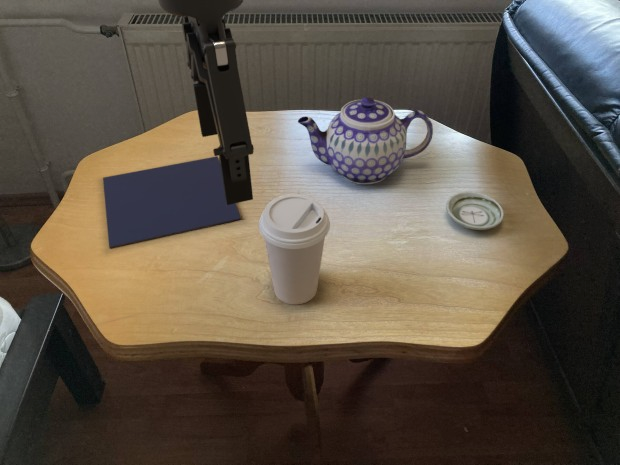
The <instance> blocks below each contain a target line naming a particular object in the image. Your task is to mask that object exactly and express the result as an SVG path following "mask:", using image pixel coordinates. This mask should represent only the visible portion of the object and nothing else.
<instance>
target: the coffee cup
mask: <svg viewBox="0 0 620 465" xmlns="http://www.w3.org/2000/svg"><path fill="white" fill-rule="evenodd" d="M330 227H331V221H330V218H329V215H328V213H327V211H326V210H325V208H324V206H323V205H322V203H321V202H320V201H318V200H317V199H316V198H314V197H312V196H310V195H307V194H302V193H287V194H282V195H280V196H277V197H275V198H273V199H272V200H270V201H269V202H268V203H267V205H266V206H265V208H264V210H262V213H261V215H260V216H259V220H258V231H259V233H260V235H261V237H262V238H263V239H264V243H265V249H266V256H267V259H268V266H269V269H270V270H269V271H270V276H271V280H272V286H273V291H274V294H275V296H276V297H277V298H278V299H279V300H280V301H281V302H283V303H285V304H288V305H302V304H306V303H307V302H310V301H311V300H313V298H314V297H315V296H316V294H317V291H318V285H319V279H320V272H321V271H320V270H321V266H322V259H323V252H324V251H323V250H324V245H325V239H326V236H327V235H328V233H329V232H330Z"/></svg>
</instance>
